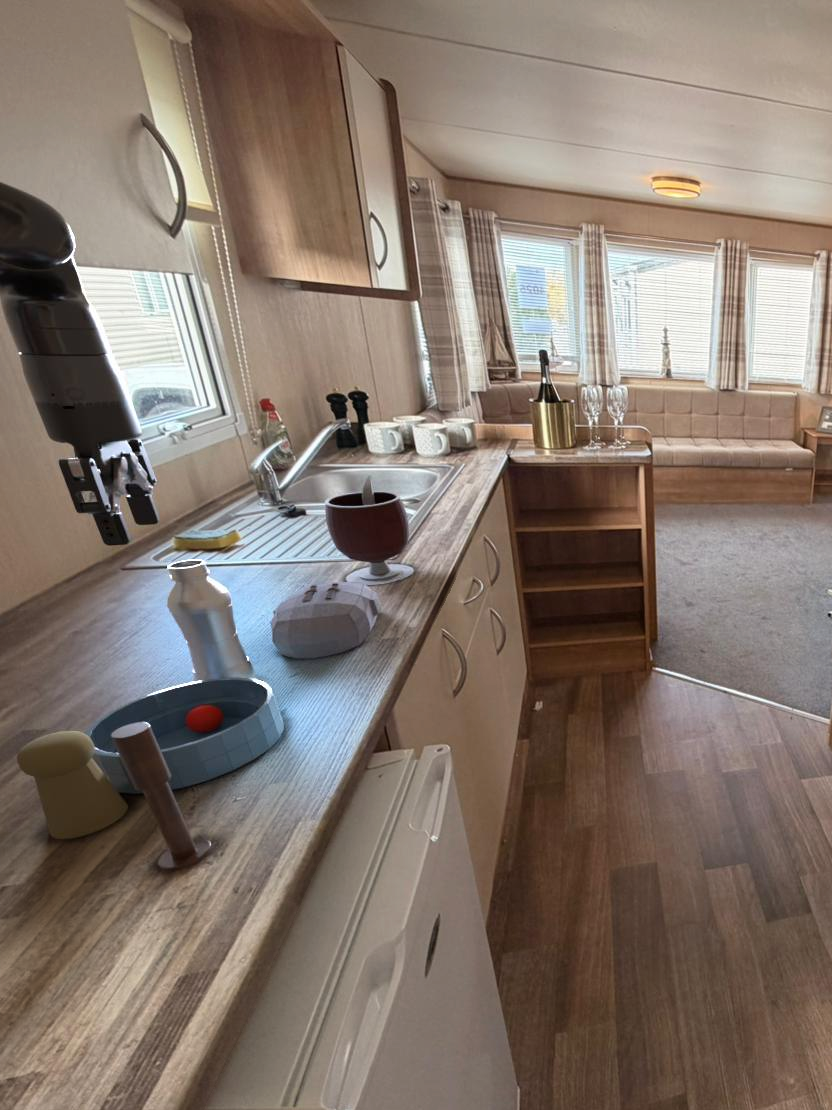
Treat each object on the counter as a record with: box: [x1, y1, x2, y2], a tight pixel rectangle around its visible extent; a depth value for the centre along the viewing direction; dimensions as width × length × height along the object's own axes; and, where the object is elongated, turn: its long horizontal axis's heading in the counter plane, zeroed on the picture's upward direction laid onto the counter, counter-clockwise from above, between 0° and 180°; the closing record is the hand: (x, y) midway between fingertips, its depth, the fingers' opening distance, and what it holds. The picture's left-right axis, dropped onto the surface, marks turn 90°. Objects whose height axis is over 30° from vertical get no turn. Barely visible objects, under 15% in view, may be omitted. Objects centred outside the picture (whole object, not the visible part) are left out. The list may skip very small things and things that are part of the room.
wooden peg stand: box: [111, 722, 213, 872], centre depth 62 cm, size 4×4×16 cm
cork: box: [16, 730, 129, 840], centre depth 67 cm, size 6×6×11 cm
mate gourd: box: [324, 475, 415, 586], centre depth 132 cm, size 16×14×20 cm
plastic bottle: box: [166, 559, 257, 682], centre depth 89 cm, size 6×7×20 cm
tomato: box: [186, 705, 223, 733], centre depth 83 cm, size 4×4×4 cm
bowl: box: [84, 677, 285, 795], centre depth 79 cm, size 17×17×6 cm
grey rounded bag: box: [269, 581, 381, 660], centre depth 109 cm, size 15×8×20 cm
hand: (134, 533), depth 78 cm, fingers open, 8 cm apart
